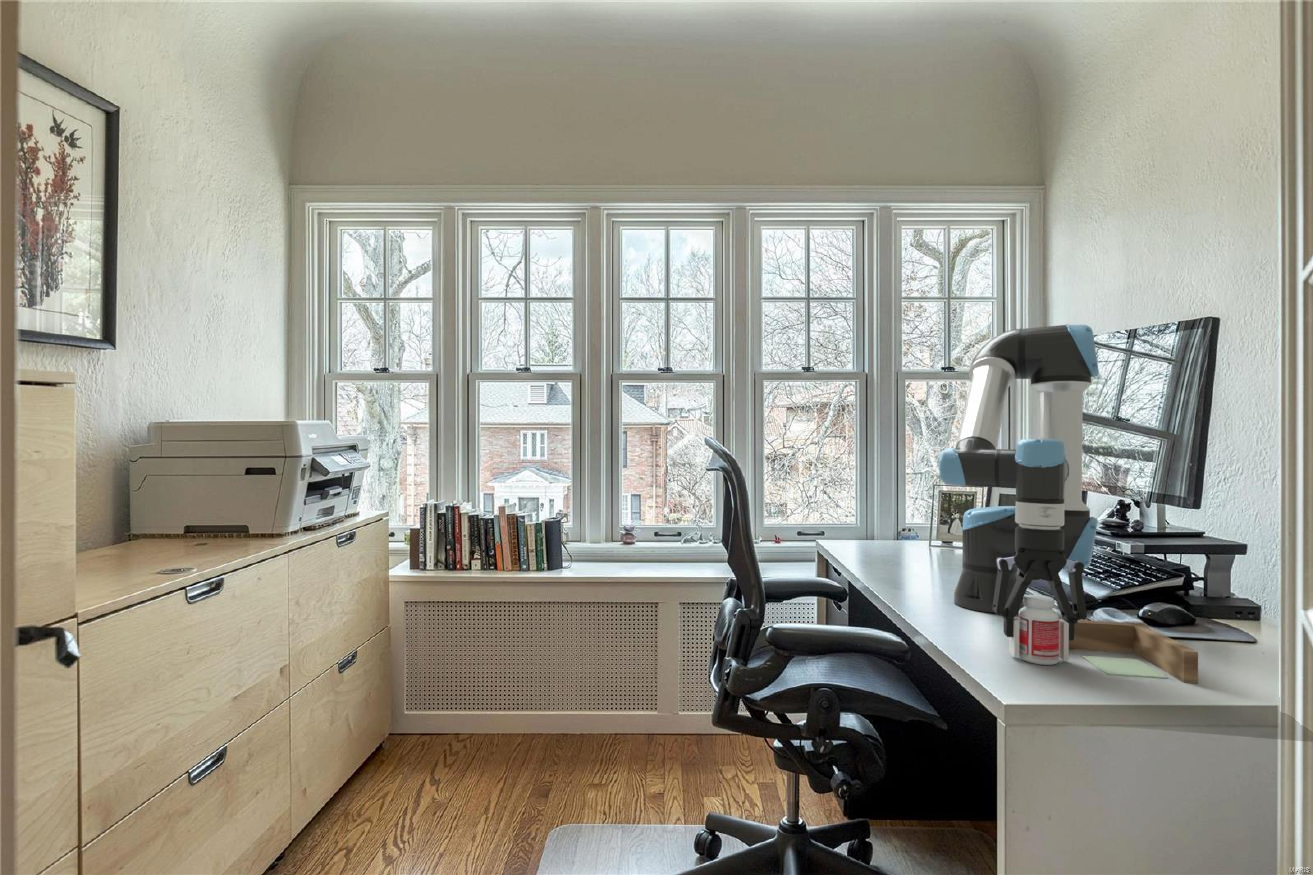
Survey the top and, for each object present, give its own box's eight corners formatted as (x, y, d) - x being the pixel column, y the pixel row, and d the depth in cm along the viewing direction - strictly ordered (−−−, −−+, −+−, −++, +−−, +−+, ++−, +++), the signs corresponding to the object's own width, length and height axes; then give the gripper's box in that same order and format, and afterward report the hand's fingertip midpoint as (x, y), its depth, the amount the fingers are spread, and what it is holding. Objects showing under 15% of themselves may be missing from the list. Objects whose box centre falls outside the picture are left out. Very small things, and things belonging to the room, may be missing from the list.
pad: (1081, 657, 118) (1082, 655, 118) (1137, 660, 117) (1137, 659, 117) (1107, 674, 109) (1107, 673, 109) (1167, 678, 108) (1167, 677, 108)
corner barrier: (1011, 642, 126) (1012, 616, 126) (1139, 650, 123) (1140, 623, 123) (1048, 673, 110) (1048, 643, 110) (1197, 683, 106) (1198, 652, 106)
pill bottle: (1065, 662, 115) (1066, 598, 115) (1047, 668, 112) (1048, 603, 112) (1029, 652, 121) (1029, 591, 121) (1011, 658, 117) (1011, 595, 117)
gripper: (984, 527, 114) (983, 659, 114) (1113, 531, 111) (1112, 668, 111) (972, 522, 122) (970, 646, 122) (1091, 525, 118) (1090, 654, 118)
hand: (1038, 656), depth 116 cm, fingers open, 7 cm apart
